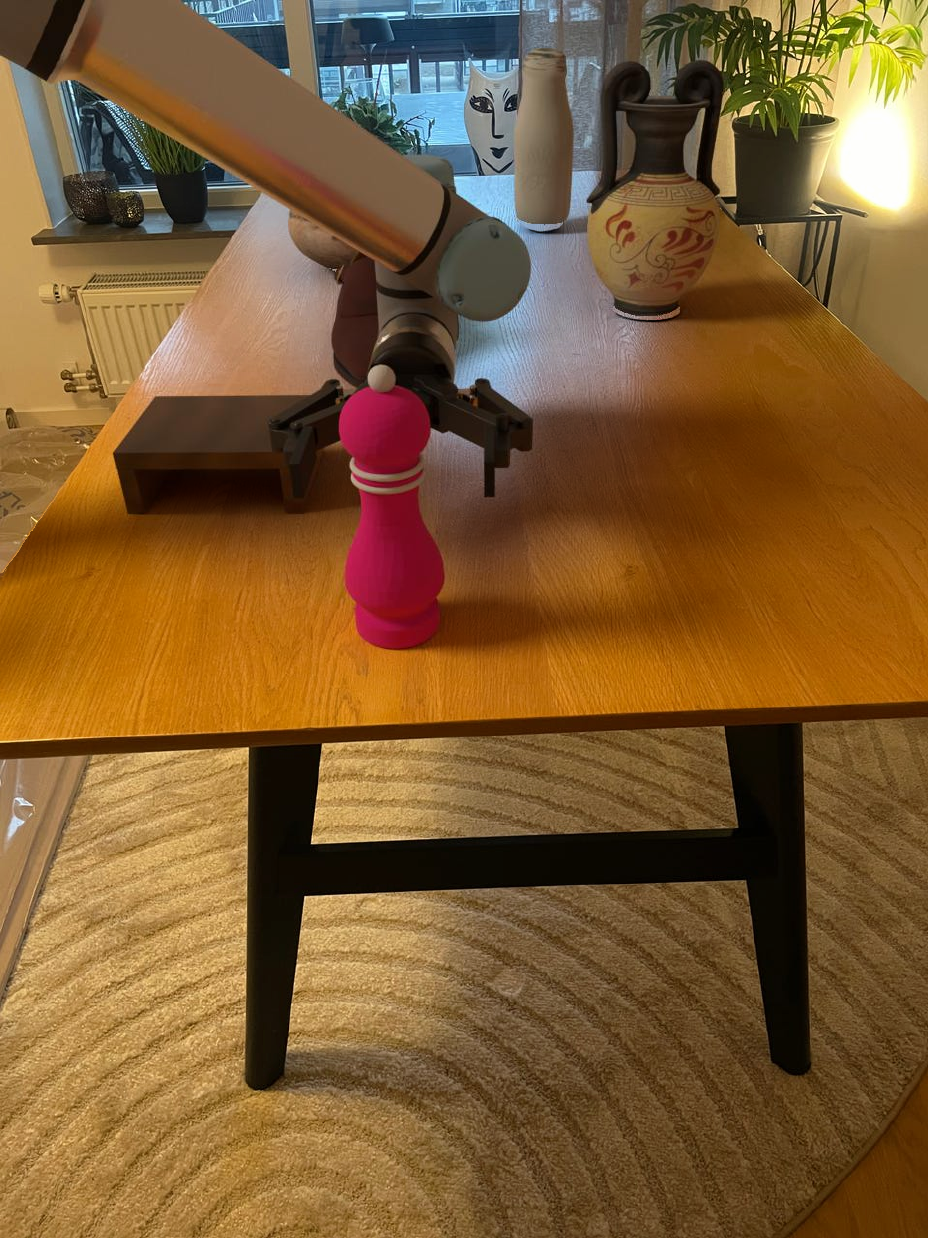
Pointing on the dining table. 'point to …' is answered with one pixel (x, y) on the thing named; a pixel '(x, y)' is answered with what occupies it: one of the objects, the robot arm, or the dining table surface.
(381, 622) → the pepper mill
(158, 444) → the shelf
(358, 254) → the dress shoe
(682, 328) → the dining table surface
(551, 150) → the tan bottle
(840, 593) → the dining table surface
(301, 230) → the cooking pot
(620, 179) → the amphora
